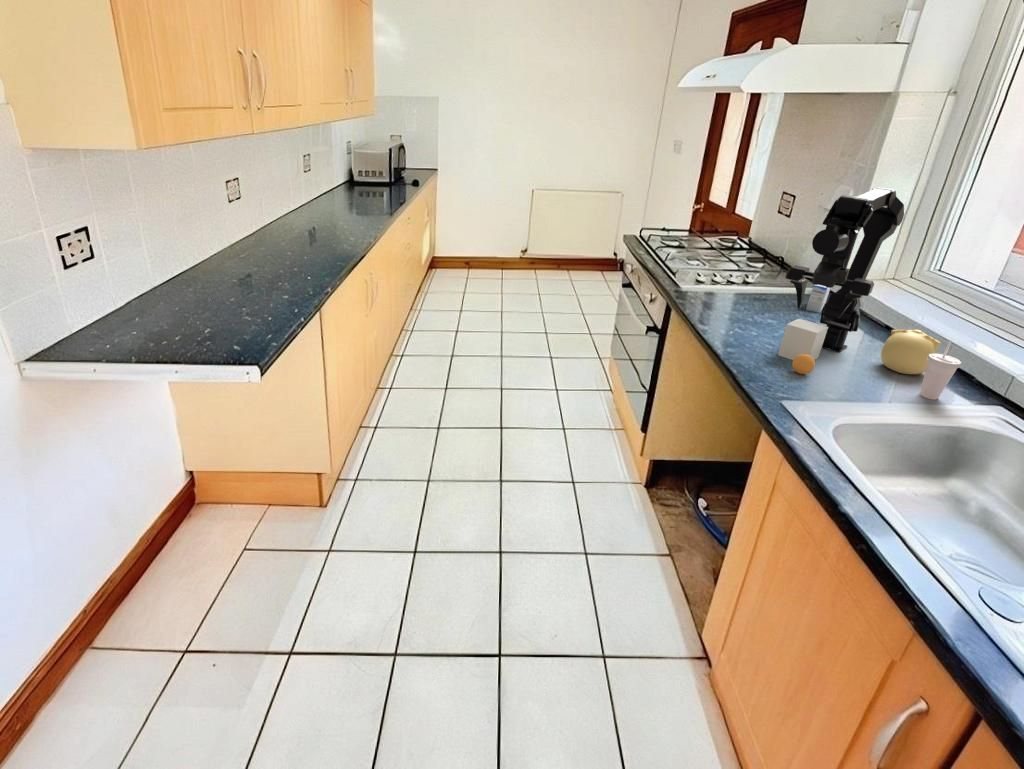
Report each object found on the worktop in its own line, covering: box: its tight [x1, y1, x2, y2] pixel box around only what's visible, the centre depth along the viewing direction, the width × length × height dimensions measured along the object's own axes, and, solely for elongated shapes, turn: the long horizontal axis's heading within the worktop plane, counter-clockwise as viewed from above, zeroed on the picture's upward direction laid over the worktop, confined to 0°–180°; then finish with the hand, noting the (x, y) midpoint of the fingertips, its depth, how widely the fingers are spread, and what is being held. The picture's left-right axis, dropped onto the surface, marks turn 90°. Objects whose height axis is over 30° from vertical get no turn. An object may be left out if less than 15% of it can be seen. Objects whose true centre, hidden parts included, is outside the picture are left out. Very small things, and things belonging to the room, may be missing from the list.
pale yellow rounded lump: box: [880, 329, 942, 375], centre depth 147 cm, size 12×12×11 cm
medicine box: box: [806, 284, 831, 314], centre depth 192 cm, size 8×4×9 cm, turn 144°
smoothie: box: [919, 339, 962, 400], centre depth 132 cm, size 6×6×14 cm
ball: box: [791, 354, 816, 375], centre depth 141 cm, size 5×5×5 cm
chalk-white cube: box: [777, 318, 828, 361], centre depth 151 cm, size 8×8×9 cm
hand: (818, 313), depth 144 cm, fingers open, 9 cm apart
